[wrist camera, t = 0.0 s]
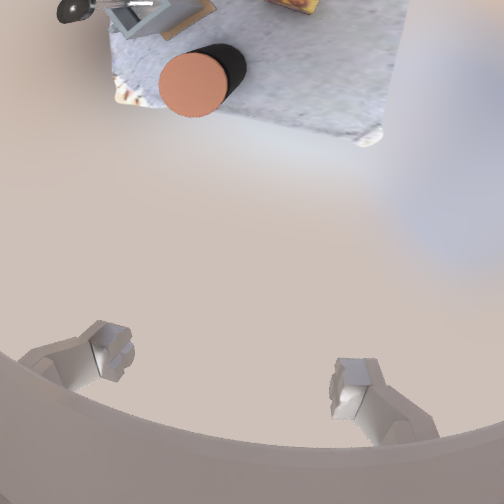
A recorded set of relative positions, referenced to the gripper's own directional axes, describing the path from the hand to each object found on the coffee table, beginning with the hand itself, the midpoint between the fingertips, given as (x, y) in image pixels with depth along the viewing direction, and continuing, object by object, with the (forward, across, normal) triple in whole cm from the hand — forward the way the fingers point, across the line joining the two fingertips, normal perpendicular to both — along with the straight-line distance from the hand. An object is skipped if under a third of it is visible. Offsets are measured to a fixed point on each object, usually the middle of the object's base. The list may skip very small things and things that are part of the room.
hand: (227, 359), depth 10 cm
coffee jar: (+47, +13, -27) cm, 56 cm away
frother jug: (+40, +22, -41) cm, 61 cm away
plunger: (+30, +22, -35) cm, 51 cm away
